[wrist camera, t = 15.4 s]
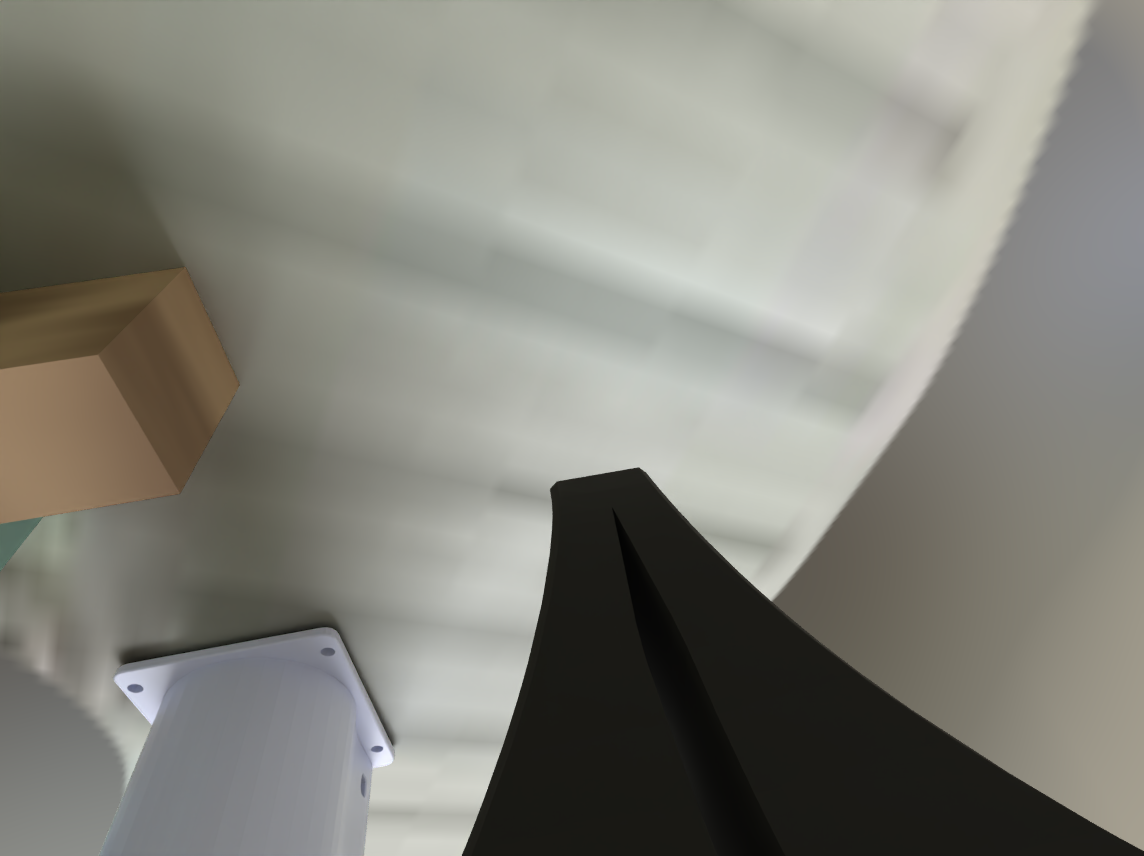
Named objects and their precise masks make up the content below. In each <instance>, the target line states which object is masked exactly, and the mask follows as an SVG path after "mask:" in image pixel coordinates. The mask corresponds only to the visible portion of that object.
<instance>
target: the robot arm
mask: <svg viewBox="0 0 1144 856" xmlns="http://www.w3.org/2000/svg"><path fill="white" fill-rule="evenodd" d="M550 492H551V499H552V511H553V521H552V537H551V548H550V557H549V563H548V569H547V576H546V582H545V588H544V595H543V600H542V605H541V610H540V614H539V618H538V623H537V627H536V631H535V636H534V640H533V644H532V648H531V653H530V657H529V661H528V665H527V668H526V672H525V676H524V679H523V683H522V686H521V690H520V693H519V697H518V700H517V703H516V707H515V710H514V713H513V716H512V719H511V722H510V726H509V729H508V732H507V735H506V738H505V741H504V744H503V747H502V750H501V753H500V755H499V758H498V761H497V764H496V767H495V770H494V772H493V775H492V778H491V781H490V784H489V786H488V789H487V792H486V795H485V798H484V800H483V803H482V806H481V808H480V811H479V814H478V816H477V819H476V821H475V824H474V827H473V829H472V832H471V834H470V837H469V839H468V842H467V844H466V847H465V849H464V851H463V854H462V856H1144V851H1142V850H1140V849H1138V848H1137V847H1135V846H1133V845H1131V844H1129V843H1128V842H1126V841H1124V840H1122V839H1120V838H1118V837H1117V836H1115V835H1113V834H1111V833H1109V832H1108V831H1106V830H1104V829H1102V828H1101V827H1099V826H1097V825H1095V824H1094V823H1092V822H1090V821H1088V820H1087V819H1085V818H1083V817H1082V816H1080V815H1078V814H1077V813H1075V812H1073V811H1072V810H1070V809H1068V808H1066V807H1065V806H1063V805H1062V804H1060V803H1058V802H1056V801H1055V800H1053V799H1051V798H1050V797H1048V796H1046V795H1045V794H1043V793H1041V792H1039V791H1038V790H1036V789H1035V788H1033V787H1031V786H1029V785H1028V784H1026V783H1025V782H1023V781H1021V780H1020V779H1018V778H1016V777H1014V776H1013V775H1011V774H1009V773H1008V772H1006V771H1005V770H1003V769H1002V768H1000V767H998V766H997V765H996V764H994V763H992V762H991V761H990V760H988V759H986V758H985V757H983V756H982V755H980V754H979V753H977V752H976V751H974V750H973V749H971V748H969V747H968V746H966V745H965V744H963V743H962V742H960V741H959V740H957V739H956V738H954V737H953V736H951V735H950V734H948V733H946V732H945V731H943V730H942V729H940V728H939V727H937V726H936V725H934V724H933V723H931V722H929V721H928V720H926V719H925V718H923V717H922V716H920V715H919V714H917V713H916V712H914V711H912V710H911V709H910V708H908V707H907V706H905V705H904V704H902V703H901V702H900V701H898V700H897V699H895V698H894V697H893V696H891V695H890V694H888V693H887V692H886V691H884V690H883V689H882V688H880V687H879V686H877V685H876V684H874V683H873V682H872V681H870V680H869V679H868V678H866V677H865V676H863V675H862V674H861V673H859V672H858V671H857V670H855V669H854V668H853V667H851V666H850V665H849V664H847V663H846V662H845V661H844V660H842V659H841V658H840V657H838V656H837V655H836V654H834V653H833V652H832V651H831V650H829V649H828V648H827V647H825V646H824V645H823V644H821V643H820V642H819V641H818V640H816V639H815V638H814V637H813V636H812V635H810V634H809V633H808V632H807V631H805V630H804V629H803V628H801V626H799V625H798V624H797V623H796V622H794V621H793V620H792V619H791V618H790V617H789V616H787V615H786V614H785V613H784V612H783V611H782V610H780V609H779V608H778V607H777V606H776V605H775V604H774V603H773V602H771V601H770V600H769V599H768V598H767V597H766V596H765V595H763V594H762V593H761V592H760V591H759V590H758V589H757V588H756V587H754V586H753V585H752V584H751V583H750V582H749V581H748V580H747V579H746V578H745V577H744V576H743V575H741V574H740V573H739V572H738V571H737V570H736V569H735V568H734V567H733V566H732V565H731V564H730V563H729V562H728V561H727V560H726V559H725V558H724V557H723V556H722V555H721V554H720V553H719V552H718V551H717V550H716V549H715V548H714V547H713V546H712V545H711V544H710V543H709V542H708V541H707V540H706V539H705V538H704V537H703V536H702V535H701V534H700V533H699V532H698V531H697V530H696V529H695V528H694V527H693V526H692V525H691V524H690V523H689V522H688V520H687V519H686V518H685V517H684V516H683V515H682V514H681V513H680V512H679V511H678V510H677V509H676V507H675V506H674V505H673V504H672V503H671V502H670V501H669V500H668V498H667V497H666V496H665V495H664V494H663V493H662V491H661V490H660V489H659V488H658V487H657V486H656V484H655V483H654V482H653V481H652V479H651V478H650V477H649V476H648V474H647V473H646V472H644V471H643V470H642V469H640V468H633V469H627V470H621V471H615V472H610V473H604V474H598V475H592V476H587V477H581V478H575V479H569V480H563V481H558V482H556V483H555V484H554V485H553V486H552V488H551V489H550ZM113 679H114V681H115V683H116V684H117V685H118V686H119V687H120V689H121V690H122V691H123V692H124V693H125V694H126V696H127V697H128V698H129V699H130V700H131V701H132V702H133V704H134V705H135V706H136V707H137V708H138V709H139V711H140V712H141V713H142V714H143V715H144V716H145V718H146V719H147V720H148V721H149V722H150V723H151V725H152V727H151V729H150V732H149V734H148V736H147V739H146V741H145V744H144V746H143V749H142V751H141V753H140V756H139V758H138V761H137V763H136V766H135V768H134V771H133V773H132V775H131V778H130V780H129V783H128V785H127V788H126V790H125V793H124V795H123V797H122V800H121V802H120V805H119V807H118V810H117V812H116V815H115V817H114V820H113V822H112V824H111V827H110V829H109V832H108V834H107V837H106V839H105V842H104V844H103V846H102V849H101V851H100V854H99V856H364V849H365V839H366V829H367V819H368V809H369V799H370V789H371V779H372V769H373V768H377V767H382V766H386V765H389V764H391V763H392V762H393V761H394V758H395V751H394V748H393V746H392V744H391V742H390V740H389V738H388V736H387V734H386V732H385V730H384V728H383V725H382V723H381V721H380V719H379V717H378V715H377V713H376V711H375V709H374V707H373V704H372V702H371V700H370V698H369V696H368V694H367V692H366V690H365V688H364V686H363V684H362V681H361V679H360V677H359V675H358V673H357V671H356V669H355V667H354V665H353V663H352V661H351V658H350V656H349V654H348V652H347V650H346V648H345V646H344V644H343V642H342V640H341V637H340V635H339V633H338V632H337V631H336V630H334V629H332V628H328V627H321V628H316V629H311V630H305V631H300V632H295V633H289V634H284V635H278V636H273V637H268V638H262V639H257V640H252V641H246V642H241V643H235V644H230V645H225V646H219V647H214V648H209V649H203V650H198V651H193V652H187V653H182V654H176V655H171V656H166V657H160V658H155V659H150V660H144V661H139V662H133V663H128V664H124V665H121V666H120V667H119V668H118V669H117V671H116V673H115V675H114V678H113Z"/></svg>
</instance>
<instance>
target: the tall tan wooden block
mask: <svg viewBox="0 0 1144 856" xmlns="http://www.w3.org/2000/svg"><path fill="white" fill-rule="evenodd" d="M239 386H240V384H239V382H238V380H237V378H236V376H235V374H234V371H233V369H232V367H231V365H230V363H229V361H228V358H227V356H226V354H225V352H224V350H223V347H222V345H221V343H220V341H219V339H218V337H217V334H216V332H215V330H214V328H213V326H212V324H211V321H210V319H209V317H208V315H207V313H206V310H205V308H204V306H203V304H202V302H201V300H200V297H199V295H198V293H197V291H196V289H195V287H194V284H193V282H192V280H191V278H190V276H189V274H188V271H187V269H186V267H182V268H175V269H168V270H161V271H154V272H146V273H139V274H132V275H125V276H118V277H111V278H104V279H97V280H89V281H82V282H75V283H68V284H61V285H54V286H47V287H40V288H32V289H25V290H18V291H11V292H4V293H0V524H3V523H9V522H15V521H21V520H27V519H33V518H39V517H45V516H51V515H56V514H62V513H68V512H74V511H80V510H86V509H92V508H98V507H104V506H110V505H116V504H122V503H128V502H134V501H140V500H146V499H152V498H158V497H164V496H170V495H176V494H180V493H181V491H182V490H183V488H184V486H185V484H186V482H187V480H188V479H189V477H190V475H191V473H192V471H193V469H194V468H195V466H196V464H197V462H198V460H199V459H200V457H201V455H202V453H203V451H204V449H205V448H206V446H207V444H208V442H209V440H210V438H211V437H212V435H213V433H214V431H215V429H216V428H217V426H218V424H219V422H220V420H221V418H222V417H223V415H224V413H225V411H226V409H227V408H228V406H229V404H230V402H231V400H232V398H233V397H234V395H235V393H236V391H237V389H238V387H239Z"/></svg>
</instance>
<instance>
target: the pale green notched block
mask: <svg viewBox="0 0 1144 856" xmlns="http://www.w3.org/2000/svg"><path fill="white" fill-rule="evenodd" d="M42 518H43V517H39V518H33V519H27V520H21V521H15V522H9V523H3V524H0V571H1V570H2V568H3V567H4V566H5V565H6V563H7V562H8V561H9V560H10V558H11V557H12V556H13V554H14V553H15V552H16V551H17V549H18V548H19V547H20V546H21V544H22V543H23V542H24V540H25V539H26V538H27V537H28V535H29V534H30V533H31V532H32V530H33V529H34V528H35V527H36V525H37V524H38V523H39V521H40V520H41V519H42Z"/></svg>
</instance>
